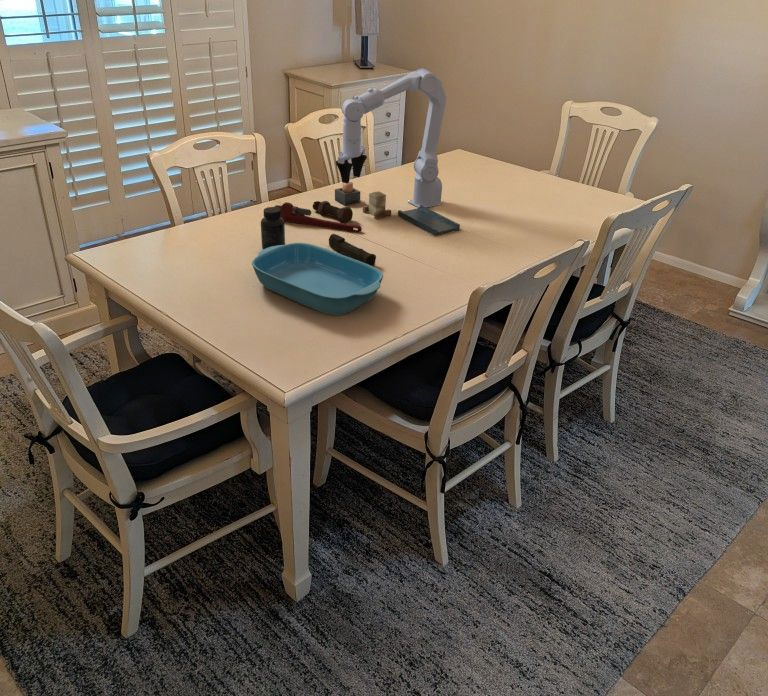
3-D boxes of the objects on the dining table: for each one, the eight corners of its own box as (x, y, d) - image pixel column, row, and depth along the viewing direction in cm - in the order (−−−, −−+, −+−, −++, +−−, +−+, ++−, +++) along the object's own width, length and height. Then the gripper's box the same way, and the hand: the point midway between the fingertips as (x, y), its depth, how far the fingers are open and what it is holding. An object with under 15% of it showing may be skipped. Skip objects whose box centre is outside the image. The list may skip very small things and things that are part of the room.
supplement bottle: (270, 242, 206) (268, 203, 200) (289, 246, 204) (288, 208, 198) (257, 249, 201) (255, 210, 195) (276, 255, 199) (275, 215, 192)
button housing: (350, 197, 243) (350, 186, 241) (360, 202, 239) (360, 191, 237) (334, 200, 240) (334, 189, 238) (344, 205, 235) (344, 194, 233)
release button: (349, 192, 240) (349, 181, 238) (354, 195, 238) (354, 184, 235) (340, 193, 238) (340, 182, 236) (346, 196, 236) (346, 185, 234)
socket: (377, 208, 234) (377, 203, 233) (390, 216, 229) (391, 210, 228) (362, 211, 231) (363, 206, 230) (376, 219, 226) (376, 213, 225)
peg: (378, 211, 232) (379, 191, 229) (385, 215, 230) (386, 194, 226) (368, 213, 230) (369, 193, 227) (375, 217, 228) (376, 196, 224)
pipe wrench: (359, 236, 215) (271, 221, 221) (362, 233, 217) (274, 218, 223) (360, 216, 212) (270, 201, 218) (363, 213, 214) (273, 199, 220)
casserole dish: (398, 297, 180) (400, 272, 176) (345, 330, 164) (345, 304, 160) (293, 258, 197) (293, 235, 194) (237, 285, 182) (235, 260, 178)
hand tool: (376, 266, 196) (377, 251, 193) (365, 269, 193) (366, 254, 191) (336, 244, 208) (336, 230, 205) (325, 247, 205) (325, 232, 203)
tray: (421, 210, 234) (421, 205, 233) (459, 230, 221) (460, 224, 220) (397, 216, 229) (397, 210, 228) (435, 236, 216) (436, 230, 215)
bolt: (317, 215, 232) (349, 226, 224) (307, 211, 228) (339, 222, 219) (323, 199, 231) (355, 209, 223) (313, 194, 227) (345, 205, 219)
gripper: (352, 132, 229) (351, 172, 236) (329, 141, 218) (329, 183, 225) (370, 135, 227) (369, 175, 234) (348, 145, 216) (348, 187, 223)
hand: (351, 179), depth 229 cm, fingers open, 7 cm apart
